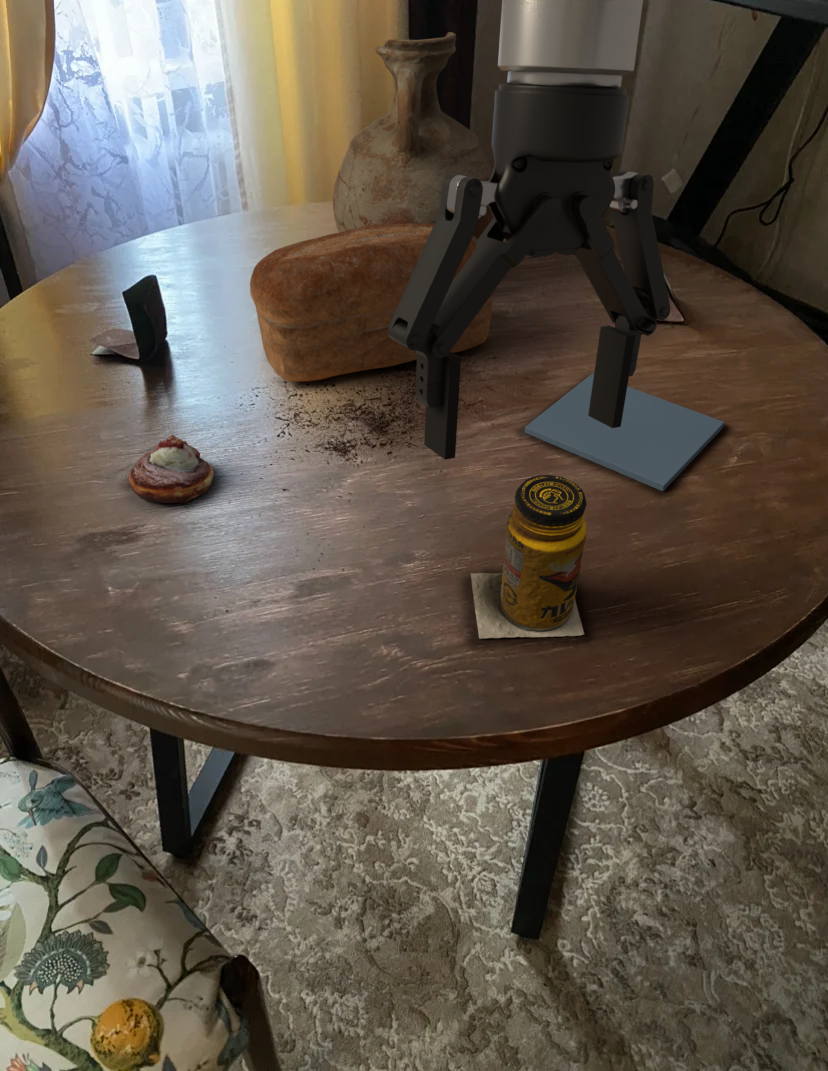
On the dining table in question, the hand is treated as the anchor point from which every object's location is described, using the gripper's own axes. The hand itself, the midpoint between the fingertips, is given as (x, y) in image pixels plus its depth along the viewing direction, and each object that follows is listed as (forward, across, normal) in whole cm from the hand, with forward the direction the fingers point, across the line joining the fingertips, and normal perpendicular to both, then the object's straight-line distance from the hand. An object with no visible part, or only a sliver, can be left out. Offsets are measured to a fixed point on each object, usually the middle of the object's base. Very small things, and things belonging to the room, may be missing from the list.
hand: (525, 436), depth 57 cm
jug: (+4, -25, -62) cm, 67 cm away
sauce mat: (+11, -27, -19) cm, 35 cm away
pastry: (+15, +17, -33) cm, 40 cm away
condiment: (+17, -4, -4) cm, 18 cm away
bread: (+8, -12, -47) cm, 49 cm away
